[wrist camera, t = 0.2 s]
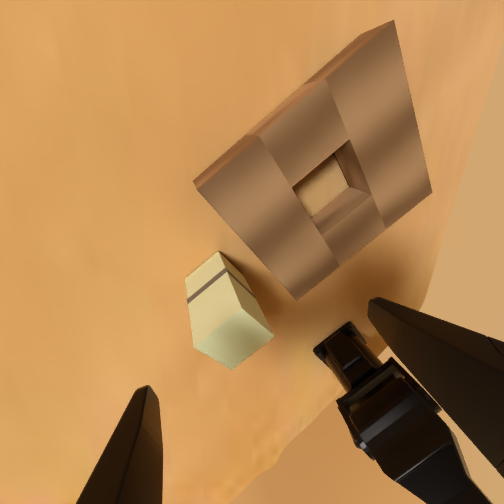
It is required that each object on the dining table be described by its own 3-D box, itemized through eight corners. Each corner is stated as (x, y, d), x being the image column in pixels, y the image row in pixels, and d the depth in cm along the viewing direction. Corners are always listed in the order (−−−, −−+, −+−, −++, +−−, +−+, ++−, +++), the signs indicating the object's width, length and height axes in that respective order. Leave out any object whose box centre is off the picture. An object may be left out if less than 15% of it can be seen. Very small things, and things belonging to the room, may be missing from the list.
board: (405, 185, 25) (432, 192, 22) (284, 283, 26) (296, 300, 24) (360, 34, 17) (393, 19, 15) (192, 180, 19) (197, 190, 16)
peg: (244, 276, 24) (275, 336, 17) (213, 301, 24) (232, 370, 18) (218, 250, 22) (241, 307, 15) (184, 278, 22) (193, 347, 16)
